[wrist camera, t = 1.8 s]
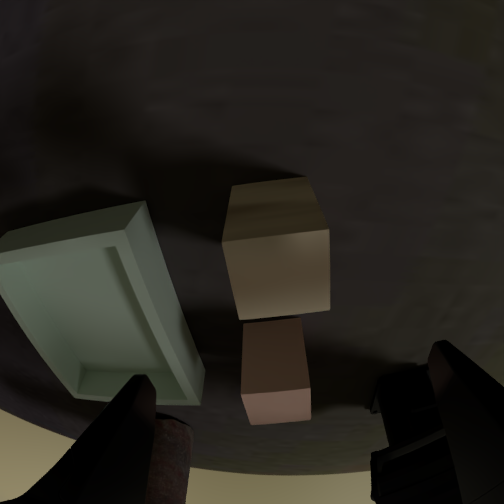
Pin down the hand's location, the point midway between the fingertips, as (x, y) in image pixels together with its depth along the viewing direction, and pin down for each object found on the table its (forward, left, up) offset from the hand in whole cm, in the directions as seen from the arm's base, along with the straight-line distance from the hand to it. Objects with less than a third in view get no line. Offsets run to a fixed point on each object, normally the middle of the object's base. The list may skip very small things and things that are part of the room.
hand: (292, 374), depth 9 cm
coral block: (-10, +1, -11) cm, 15 cm away
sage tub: (-5, +13, -11) cm, 18 cm away
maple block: (0, 0, -11) cm, 11 cm away
